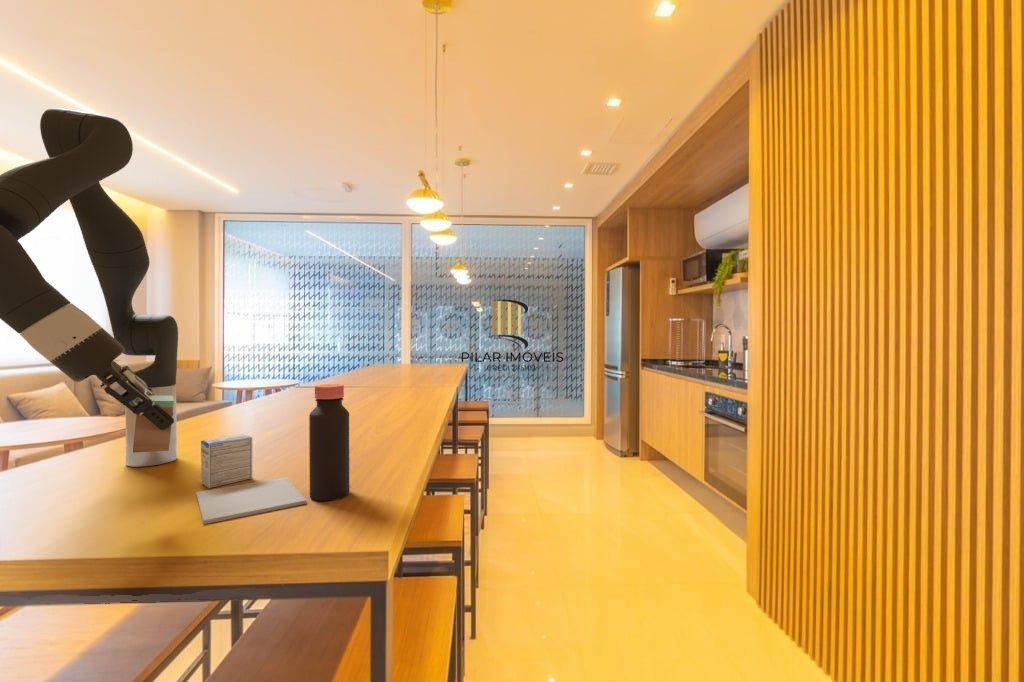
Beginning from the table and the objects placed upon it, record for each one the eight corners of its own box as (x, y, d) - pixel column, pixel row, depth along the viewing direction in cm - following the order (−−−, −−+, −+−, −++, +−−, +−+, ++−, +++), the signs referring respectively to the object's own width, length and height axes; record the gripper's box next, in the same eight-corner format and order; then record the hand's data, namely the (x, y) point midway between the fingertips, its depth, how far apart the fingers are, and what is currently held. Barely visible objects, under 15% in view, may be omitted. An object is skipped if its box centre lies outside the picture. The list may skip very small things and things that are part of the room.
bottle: (300, 499, 85) (300, 386, 85) (327, 487, 91) (327, 382, 91) (331, 503, 83) (331, 388, 82) (357, 491, 89) (357, 384, 89)
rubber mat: (196, 495, 87) (196, 492, 87) (286, 480, 96) (286, 477, 96) (203, 524, 74) (203, 520, 74) (306, 503, 83) (306, 500, 83)
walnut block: (133, 444, 77) (138, 395, 76) (168, 443, 79) (172, 395, 79) (132, 452, 73) (137, 400, 73) (168, 450, 76) (173, 400, 76)
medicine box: (243, 474, 99) (243, 433, 99) (253, 479, 96) (252, 436, 96) (200, 484, 93) (200, 439, 93) (209, 489, 90) (208, 443, 90)
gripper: (95, 329, 66) (192, 415, 73) (104, 323, 77) (187, 397, 85) (38, 366, 62) (146, 451, 70) (56, 353, 74) (147, 428, 82)
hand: (168, 421), depth 77 cm, fingers closed on walnut block, 4 cm apart
